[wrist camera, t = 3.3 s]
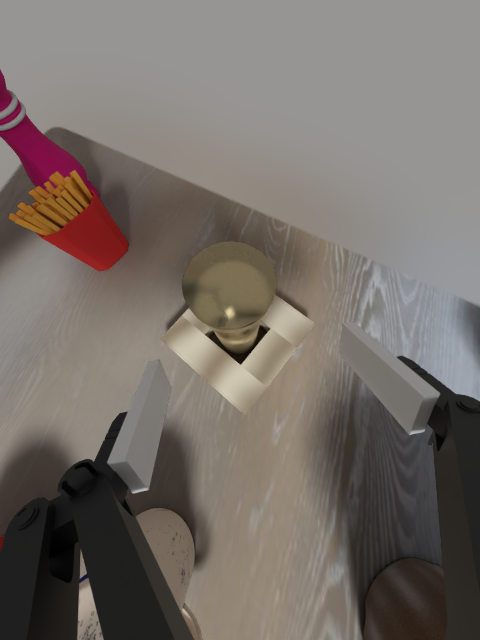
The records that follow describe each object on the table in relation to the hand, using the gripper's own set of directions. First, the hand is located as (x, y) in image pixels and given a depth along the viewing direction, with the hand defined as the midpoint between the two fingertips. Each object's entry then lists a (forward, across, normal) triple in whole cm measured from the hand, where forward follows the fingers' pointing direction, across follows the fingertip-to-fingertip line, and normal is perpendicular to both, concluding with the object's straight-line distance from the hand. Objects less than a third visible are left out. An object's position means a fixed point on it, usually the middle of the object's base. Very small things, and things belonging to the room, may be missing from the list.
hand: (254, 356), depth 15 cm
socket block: (+13, -1, -6) cm, 14 cm away
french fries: (+24, -18, +6) cm, 31 cm away
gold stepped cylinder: (+13, -1, -6) cm, 14 cm away
